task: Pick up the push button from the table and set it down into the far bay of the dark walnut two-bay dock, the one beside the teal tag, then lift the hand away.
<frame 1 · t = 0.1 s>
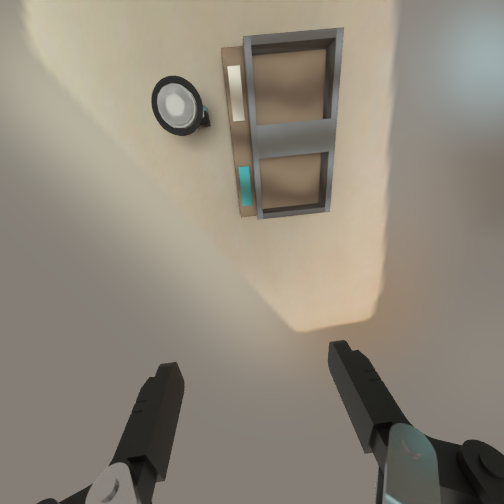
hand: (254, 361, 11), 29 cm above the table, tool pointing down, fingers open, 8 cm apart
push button: (188, 119, 31), on the table
dock: (280, 141, 32), on the table
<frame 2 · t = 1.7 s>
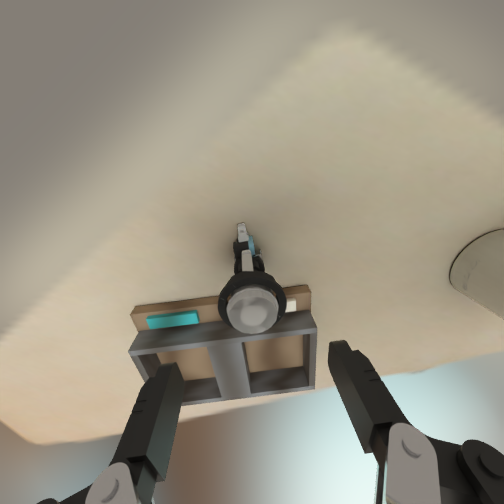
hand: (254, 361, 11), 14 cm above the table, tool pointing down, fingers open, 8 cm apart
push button: (247, 248, 24), on the table
dock: (230, 337, 30), on the table
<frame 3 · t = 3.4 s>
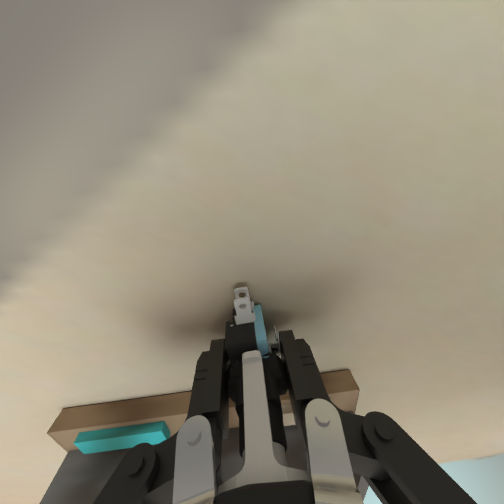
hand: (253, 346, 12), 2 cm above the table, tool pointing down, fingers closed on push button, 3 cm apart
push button: (250, 321, 13), on the table, touching gripper
dock: (223, 437, 19), on the table
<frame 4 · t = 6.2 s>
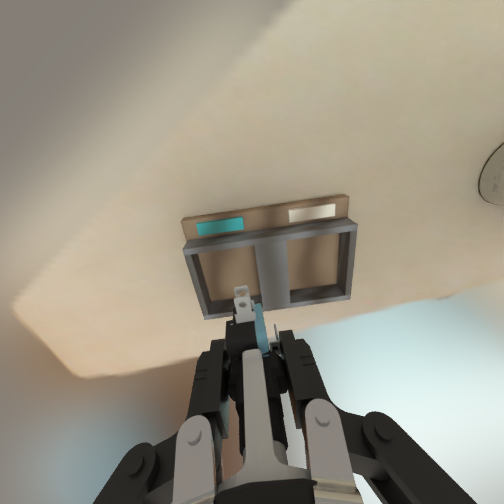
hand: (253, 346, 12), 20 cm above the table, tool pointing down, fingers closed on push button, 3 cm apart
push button: (251, 320, 13), point 18 cm above the table, touching gripper
dock: (268, 254, 31), on the table
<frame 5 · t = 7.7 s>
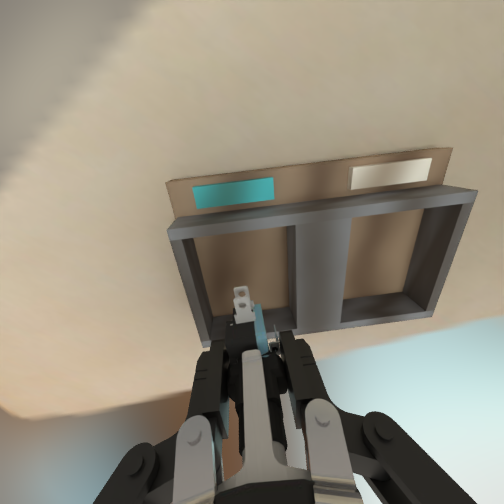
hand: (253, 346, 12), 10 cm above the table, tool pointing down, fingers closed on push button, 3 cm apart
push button: (250, 321, 13), point 8 cm above the table, touching gripper
dock: (304, 246, 20), on the table
when the fingers open (6 cm above the table, at t = 8.8 s): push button stays where it is, point 3 cm above the table.
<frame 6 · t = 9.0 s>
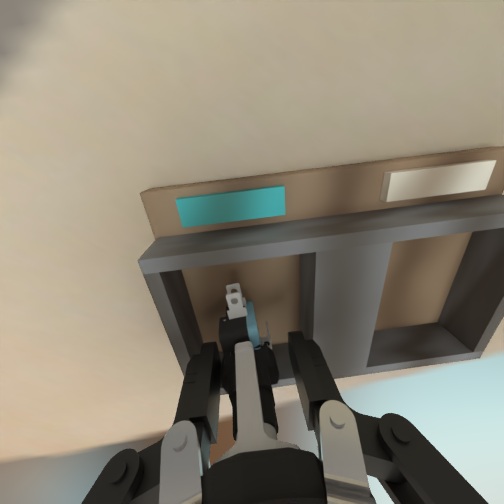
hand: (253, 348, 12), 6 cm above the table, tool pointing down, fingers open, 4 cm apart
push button: (243, 318, 14), point 3 cm above the table, touching gripper
dock: (319, 268, 16), on the table
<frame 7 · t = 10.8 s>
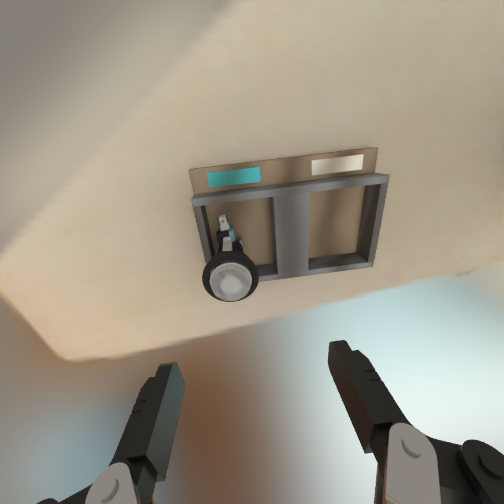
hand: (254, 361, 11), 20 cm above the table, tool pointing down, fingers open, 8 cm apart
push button: (229, 237, 28), point 1 cm above the table, touching dock
dock: (284, 217, 28), on the table
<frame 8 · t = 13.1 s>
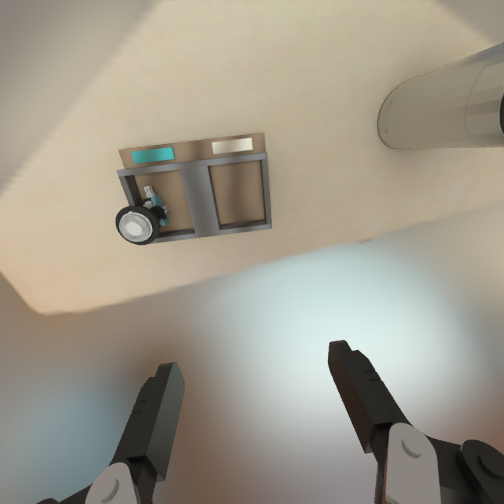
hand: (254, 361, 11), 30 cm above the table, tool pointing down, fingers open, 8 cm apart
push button: (158, 205, 35), point 1 cm above the table, touching dock
dock: (203, 190, 36), on the table
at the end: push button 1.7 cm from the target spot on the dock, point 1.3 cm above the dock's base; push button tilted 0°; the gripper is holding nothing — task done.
